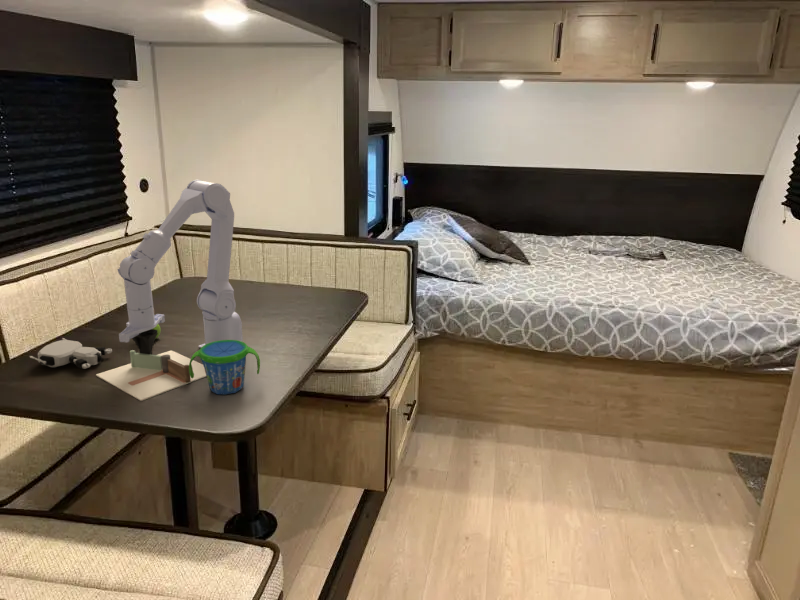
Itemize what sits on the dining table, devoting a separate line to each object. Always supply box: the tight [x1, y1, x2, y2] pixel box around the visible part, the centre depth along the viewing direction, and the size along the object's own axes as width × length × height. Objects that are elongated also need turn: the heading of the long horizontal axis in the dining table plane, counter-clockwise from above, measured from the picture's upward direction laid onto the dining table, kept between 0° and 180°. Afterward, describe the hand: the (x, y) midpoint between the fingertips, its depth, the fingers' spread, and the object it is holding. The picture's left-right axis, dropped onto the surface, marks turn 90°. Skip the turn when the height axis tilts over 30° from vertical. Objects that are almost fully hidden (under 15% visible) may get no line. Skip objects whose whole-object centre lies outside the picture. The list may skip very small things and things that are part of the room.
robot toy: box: [29, 337, 113, 370], centre depth 152 cm, size 12×4×15 cm
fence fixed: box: [161, 355, 192, 384], centre depth 146 cm, size 2×10×4 cm, turn 52°
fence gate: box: [129, 349, 163, 370], centre depth 149 cm, size 1×8×4 cm, turn 78°
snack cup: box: [189, 340, 261, 396], centre depth 140 cm, size 16×10×10 cm
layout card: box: [95, 350, 207, 402], centre depth 148 cm, size 20×20×1 cm
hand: (146, 359), depth 150 cm, fingers closed, pressing on fence gate
